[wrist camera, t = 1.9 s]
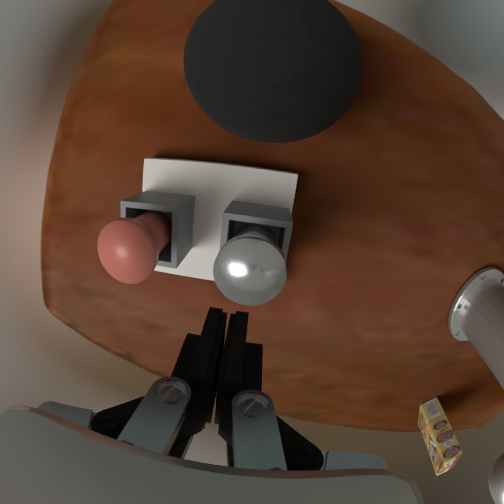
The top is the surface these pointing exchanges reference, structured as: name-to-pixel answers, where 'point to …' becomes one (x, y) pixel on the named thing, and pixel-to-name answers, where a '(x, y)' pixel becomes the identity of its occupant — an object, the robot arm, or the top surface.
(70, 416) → the robot arm
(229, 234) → the button panel
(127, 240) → the red plunger
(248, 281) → the steel plunger
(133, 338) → the top surface
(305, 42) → the decorative egg
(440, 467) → the candy box
